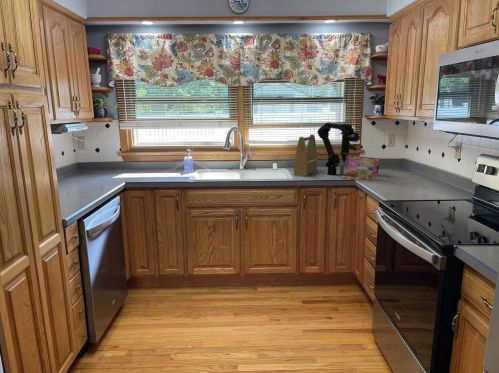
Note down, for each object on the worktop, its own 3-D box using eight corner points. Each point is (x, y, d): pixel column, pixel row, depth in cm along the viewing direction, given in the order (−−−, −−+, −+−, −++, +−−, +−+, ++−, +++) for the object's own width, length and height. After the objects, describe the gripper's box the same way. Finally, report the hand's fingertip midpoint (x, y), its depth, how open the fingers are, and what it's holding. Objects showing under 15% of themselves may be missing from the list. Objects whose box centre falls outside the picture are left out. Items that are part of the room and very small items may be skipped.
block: (350, 174, 281) (350, 169, 280) (349, 174, 285) (350, 168, 284) (355, 175, 280) (355, 169, 280) (355, 174, 284) (355, 169, 283)
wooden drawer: (339, 175, 281) (340, 164, 279) (339, 173, 289) (340, 163, 287) (357, 176, 278) (358, 165, 277) (357, 174, 286) (357, 164, 284)
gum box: (379, 175, 294) (381, 158, 291) (375, 177, 289) (376, 159, 286) (352, 171, 311) (353, 155, 308) (347, 172, 305) (348, 156, 302)
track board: (342, 178, 279) (342, 176, 279) (341, 175, 291) (342, 174, 290) (373, 180, 275) (373, 178, 274) (371, 177, 286) (371, 175, 286)
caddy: (306, 176, 288) (308, 136, 282) (293, 174, 293) (294, 136, 287) (316, 170, 314) (318, 134, 308) (304, 169, 319) (306, 134, 312)
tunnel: (357, 177, 277) (358, 168, 275) (356, 174, 288) (357, 166, 287) (367, 178, 275) (368, 169, 274) (366, 175, 287) (366, 166, 285)
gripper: (357, 142, 270) (355, 163, 274) (356, 140, 288) (355, 160, 291) (341, 141, 273) (339, 162, 276) (341, 139, 291) (340, 159, 294)
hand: (344, 161), depth 284 cm, fingers open, 9 cm apart
